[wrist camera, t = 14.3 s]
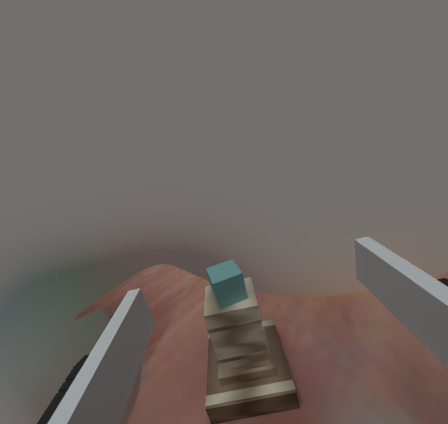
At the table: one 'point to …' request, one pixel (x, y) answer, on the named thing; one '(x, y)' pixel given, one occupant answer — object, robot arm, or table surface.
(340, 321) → the table surface
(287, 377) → the dock
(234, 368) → the wooden block tower
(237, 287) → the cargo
